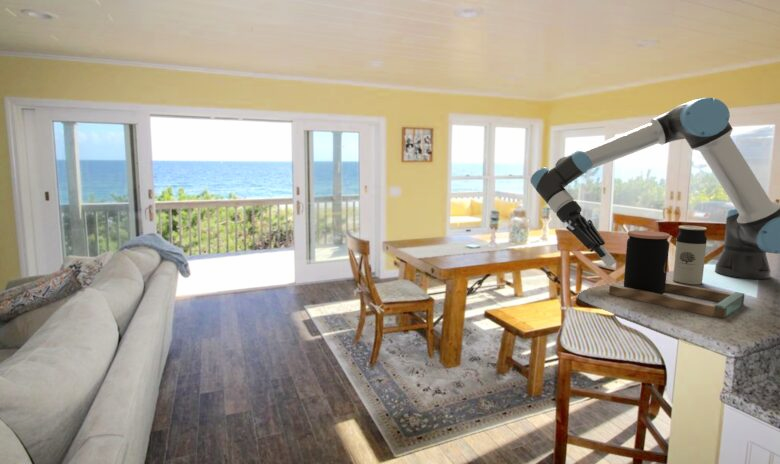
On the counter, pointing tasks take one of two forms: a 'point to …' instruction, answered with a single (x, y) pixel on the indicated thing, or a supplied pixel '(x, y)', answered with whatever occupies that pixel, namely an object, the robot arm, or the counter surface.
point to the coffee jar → (646, 261)
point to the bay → (721, 310)
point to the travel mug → (690, 255)
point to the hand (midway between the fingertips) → (612, 264)
